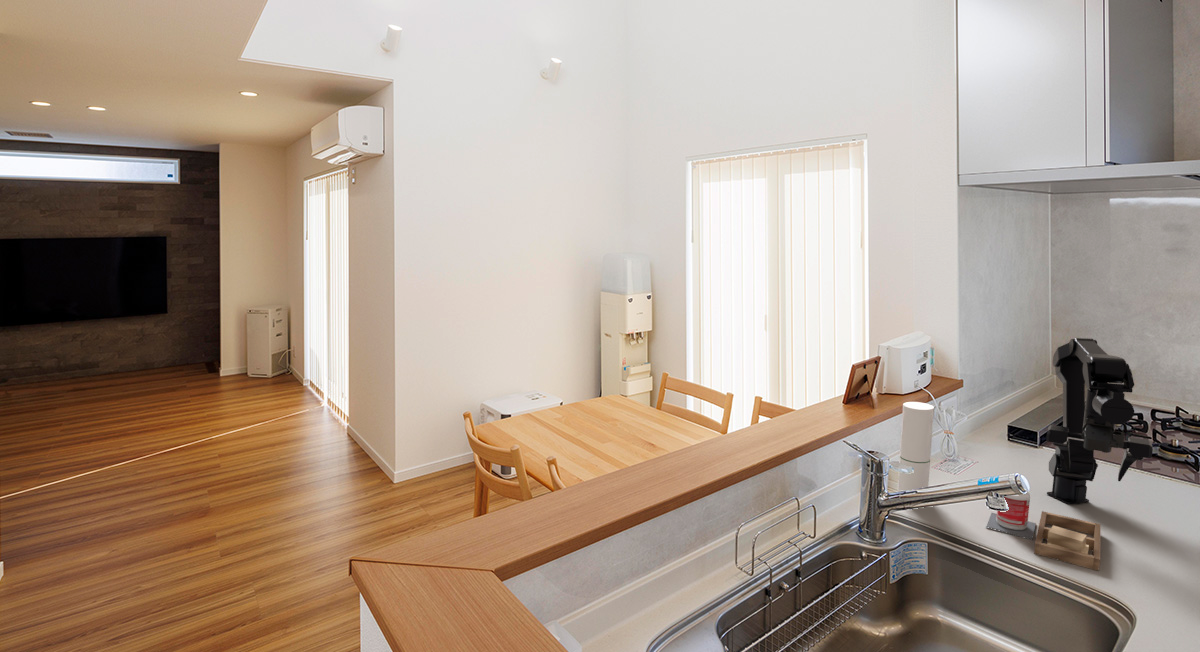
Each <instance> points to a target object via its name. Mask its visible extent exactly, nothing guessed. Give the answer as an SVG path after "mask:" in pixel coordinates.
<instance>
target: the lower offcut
mask: <svg viewBox="0 0 1200 652" xmlns="http://www.w3.org/2000/svg"><path fill="white" fill-rule="evenodd" d="M1046 542H1047V541H1046ZM1046 544H1048V545H1052V546H1056V547H1060V548H1064V549H1068V548H1065V547H1062V546H1059V545H1055V544H1052V543H1049V542H1047V543H1046ZM1088 549H1089V545H1086V546H1085V547H1084V549H1083V550H1082V552H1080V553H1084V554H1088V555H1089V550H1088ZM1068 550H1072V549H1068ZM1072 551H1075V550H1072ZM1076 552H1078V551H1076Z"/></svg>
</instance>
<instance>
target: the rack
mask: <svg viewBox="0 0 1200 652" xmlns="http://www.w3.org/2000/svg"><path fill="white" fill-rule="evenodd" d="M1039 519H1040V520H1039V523H1038V524H1039V525H1038V528H1037V532H1036V537H1035V542H1034V551H1033V554H1034V555H1037V554H1038V556H1041V555H1042V557H1045V556H1046V557H1045V558H1048V557H1049V559H1052V558H1054V559H1053V560H1056V559H1058V560H1057V561H1060V560H1061V562H1064V561H1065V562H1064V563H1067V562H1069V563H1068V564H1072V565H1075V566H1079V567H1083V568H1087V569H1091V570H1093V571H1098V572H1099V571H1100V565H1101V564H1100V563H1101V534H1102V533H1101V527H1102V525H1101V523H1097V522H1092V521H1087V520H1083V519H1079V518H1074V517H1069V516H1066V515H1065V516H1064V515H1061V514H1056V513H1052V512H1048V511H1044V510H1042V511H1041V514H1040V518H1039ZM1046 524H1047V525H1051V526H1053V525H1054V526H1057V527H1060V528H1064V529H1067V530H1071V531H1074V532H1079V533H1083V534H1089V535H1091V536H1093V537H1090V536H1087V538H1086V545H1089V549H1088V551H1091V552H1092V554H1089V553H1088V554H1084V553H1080V552H1076V551H1072V550H1068V549H1064V548H1060V547H1056V546H1052V545H1048V544H1047V543H1044V542H1043V539H1044V540H1047V539H1048V531H1049V530H1050V529H1051V528H1052V527H1048V526H1047V525H1046Z"/></svg>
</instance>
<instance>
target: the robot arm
mask: <svg viewBox="0 0 1200 652" xmlns="http://www.w3.org/2000/svg"><path fill="white" fill-rule="evenodd" d="M1052 366H1053V367H1054V368H1055V369H1054V370H1055V371H1054V372H1055V375H1056V376H1057V377H1058V380H1060V382H1061V383H1062V425H1061V426H1060V425H1056V424H1050V425H1049V426H1047V431H1046V436H1045V437H1046V438H1045V441H1047V442H1049V443H1052V446H1055V452H1054V453H1053V454H1052V456H1051V458H1050V459H1049V461H1048V471H1049V473H1050V474H1051V476H1052V477H1053V480H1052V491H1047V492H1046V494H1047V495H1048V496H1050V497H1053V498H1054V499H1056V500H1059V501H1061V502H1063V503H1065V504H1067V505H1073V504H1083V503H1089V502H1090V500H1089V499H1088V498H1087V493H1088V492H1087V490H1088V486H1087V482H1093V481H1094V479H1095V476H1096V473H1097V472H1096V471H1097V469H1098V467H1099V464H1098V463H1097V460H1096V458H1094V457H1095V456H1094V454H1095V451H1098V452H1101V453H1104V454H1105V453H1106V454H1107V453H1108V454H1109V453H1111V452H1112V448H1113V449H1123V450H1124V452H1123V453H1124V454H1123V456H1122V460H1121V464H1120V467H1119V469H1118V470H1119V471H1118V476H1117V477H1118V478H1117V481H1118V482H1121V481H1122V479H1123V478H1124V476H1125V475H1126V473H1127V472H1128V470H1129V468H1130V467H1131V466H1132V465H1133V463H1135V462H1136V461H1144V458H1145V459H1152V457H1153V450H1154V447H1153V443H1152V442H1151V440H1150V439H1147V438H1140V437H1134V436H1128V438H1127V439H1128V440H1126V439H1125V434H1126V433H1125V432H1124V431H1117V430H1116V425H1123V424H1127V423H1128V422H1130V421H1131V420H1132V419H1133V417H1134V416H1135V409H1134V406H1133V405H1132V403H1131V402H1130V401H1128V400H1127V399H1126V398H1125V397H1126V396H1125V395H1126V394H1125V393H1131V394H1132V393H1133V388H1134V386H1135V380H1134V377H1133V373H1132V369H1131V368H1130V365H1129V364H1128V363H1127V361H1126V360H1125V358H1123V357H1120V356H1116V355H1112V354H1111V355H1110V354H1107V352H1106V351H1105V350H1104V349H1103V348H1101V346H1100V345H1098V341H1097V340H1096V339H1093V338H1086V337H1085V338H1083V337H1074V338H1071V339H1070V340H1069V341H1068V342H1067V343H1065V344H1063V345H1060V346H1058V347H1057V349H1056V350H1055V352H1054V354H1053V357H1052ZM1085 387H1086V388H1085ZM1086 389H1087V390H1086ZM1085 392H1086V393H1085Z"/></svg>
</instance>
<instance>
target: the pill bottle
mask: <svg viewBox="0 0 1200 652" xmlns="http://www.w3.org/2000/svg"><path fill="white" fill-rule="evenodd" d="M1004 498H1005V500H1006V502H1007V504H1008V507H1009V510H1008V511H1006V512H1000V511H997V510H996V514H997V515H996V521H997V523H998V524H999V525H1001V526H1003V527H1005V528H1008V529H1013V530H1024V529H1026V528H1027V523H1028V521H1029V511H1030V504H1031V503H1030V502H1031V501H1030V500H1031V496H1030V493H1029V492H1028V491H1027V493H1026V494H1024V495H1019V496H1004Z"/></svg>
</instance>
